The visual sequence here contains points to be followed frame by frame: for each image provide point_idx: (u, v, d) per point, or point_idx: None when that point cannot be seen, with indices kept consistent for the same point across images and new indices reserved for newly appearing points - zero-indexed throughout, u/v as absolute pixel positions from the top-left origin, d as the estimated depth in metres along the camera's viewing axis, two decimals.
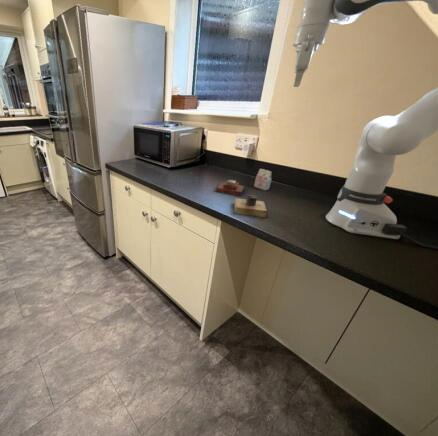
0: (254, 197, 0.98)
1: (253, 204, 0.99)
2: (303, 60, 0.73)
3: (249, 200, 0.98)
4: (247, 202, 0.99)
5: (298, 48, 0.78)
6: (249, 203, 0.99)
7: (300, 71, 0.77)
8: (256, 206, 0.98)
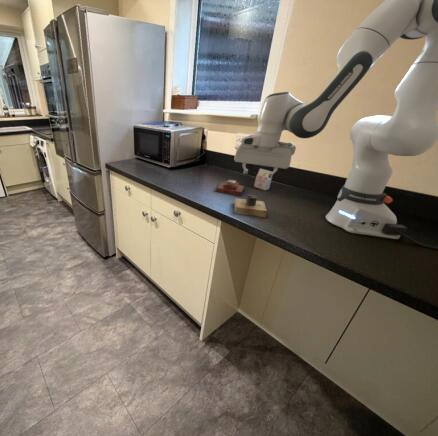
0: (254, 197, 0.98)
1: (253, 204, 0.99)
2: None
3: (249, 200, 0.98)
4: (247, 202, 0.99)
5: (269, 149, 0.87)
6: (249, 203, 0.99)
7: (277, 168, 0.90)
8: (256, 206, 0.98)
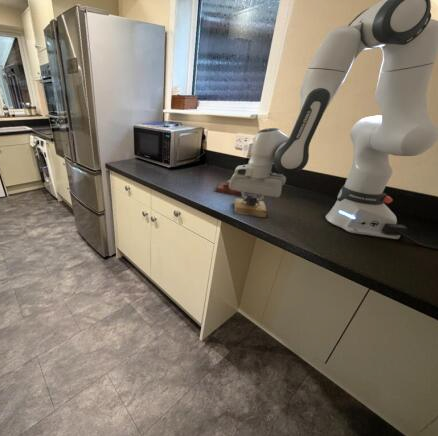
0: (254, 197, 0.98)
1: (253, 204, 0.99)
2: None
3: (249, 200, 0.98)
4: (247, 202, 0.99)
5: (261, 180, 0.92)
6: (249, 203, 0.99)
7: None
8: (256, 206, 0.98)
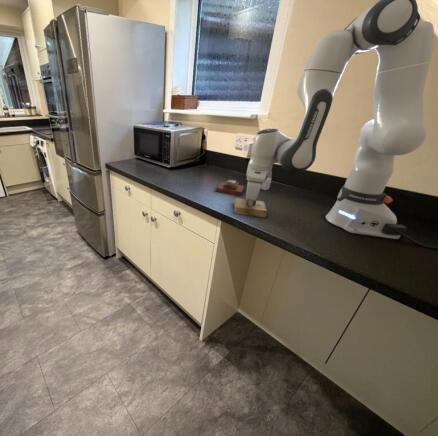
0: None
1: None
2: None
3: (256, 200, 0.98)
4: (253, 203, 0.98)
5: None
6: (255, 203, 0.99)
7: None
8: (256, 206, 0.98)
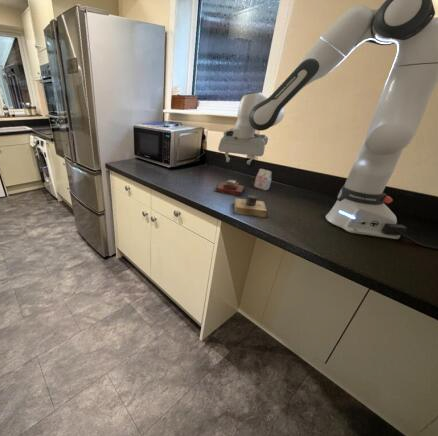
0: (254, 196, 0.99)
1: None
2: None
3: (256, 200, 0.98)
4: (253, 203, 0.98)
5: (246, 140, 1.04)
6: (255, 203, 0.99)
7: None
8: (256, 206, 0.98)
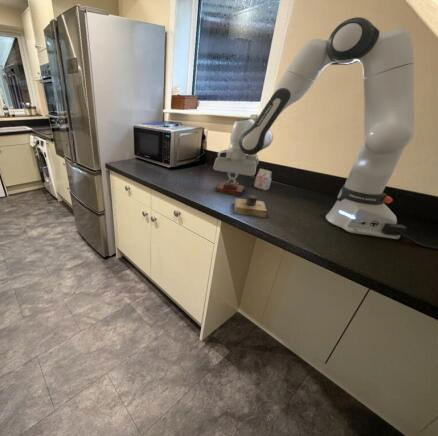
0: (254, 196, 0.99)
1: None
2: (255, 171, 1.13)
3: (256, 200, 0.98)
4: (253, 203, 0.98)
5: (239, 161, 1.12)
6: (255, 203, 0.99)
7: (238, 174, 1.17)
8: (256, 206, 0.98)
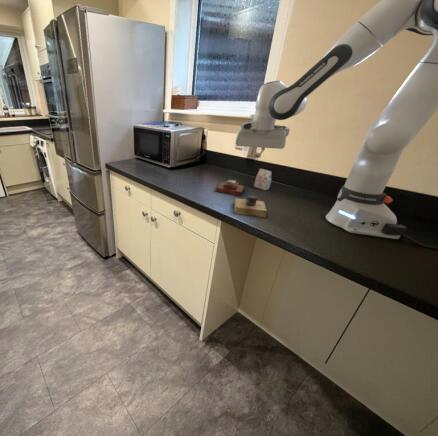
0: (254, 196, 0.99)
1: None
2: None
3: (256, 200, 0.98)
4: (253, 203, 0.98)
5: (266, 132, 0.99)
6: (255, 203, 0.99)
7: (264, 148, 1.03)
8: (256, 206, 0.98)
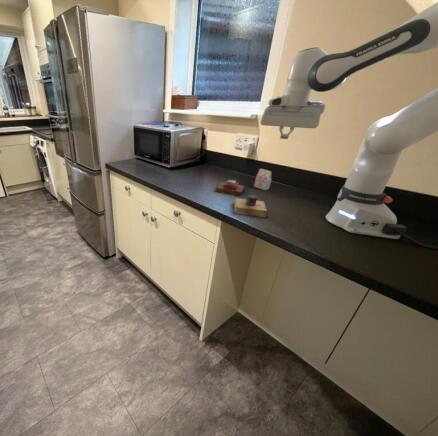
0: (254, 196, 0.99)
1: None
2: (318, 122, 0.88)
3: (256, 200, 0.98)
4: (253, 203, 0.98)
5: (298, 109, 0.87)
6: (255, 203, 0.99)
7: (293, 128, 0.92)
8: (256, 206, 0.98)
